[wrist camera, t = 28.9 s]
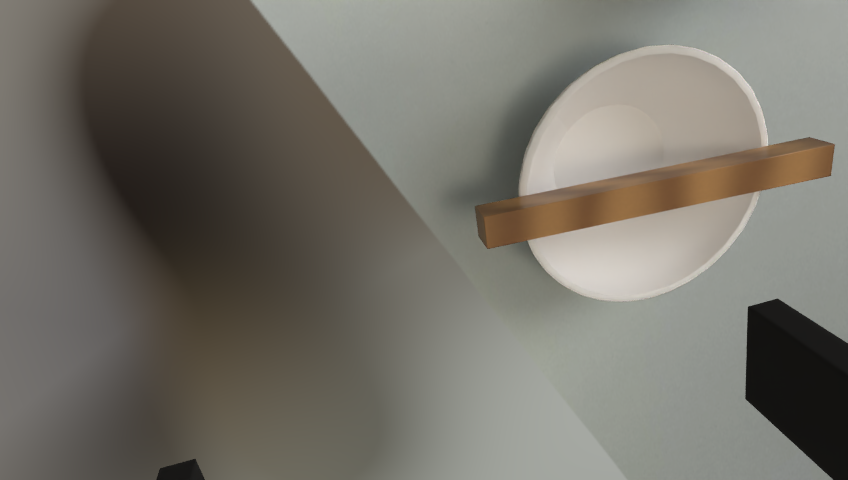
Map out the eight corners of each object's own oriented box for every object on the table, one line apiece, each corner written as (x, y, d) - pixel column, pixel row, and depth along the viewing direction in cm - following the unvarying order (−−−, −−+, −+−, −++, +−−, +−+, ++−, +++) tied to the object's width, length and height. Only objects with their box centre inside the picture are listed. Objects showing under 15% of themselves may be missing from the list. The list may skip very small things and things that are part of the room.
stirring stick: (478, 236, 43) (487, 249, 41) (474, 205, 42) (483, 217, 40) (806, 167, 45) (831, 176, 43) (809, 136, 44) (835, 144, 42)
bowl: (609, 303, 55) (647, 341, 49) (445, 193, 49) (465, 221, 42) (756, 130, 51) (817, 148, 45) (599, -16, 44) (646, -19, 38)
